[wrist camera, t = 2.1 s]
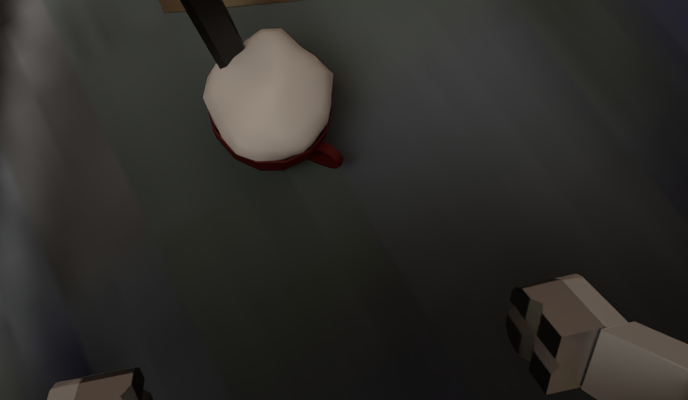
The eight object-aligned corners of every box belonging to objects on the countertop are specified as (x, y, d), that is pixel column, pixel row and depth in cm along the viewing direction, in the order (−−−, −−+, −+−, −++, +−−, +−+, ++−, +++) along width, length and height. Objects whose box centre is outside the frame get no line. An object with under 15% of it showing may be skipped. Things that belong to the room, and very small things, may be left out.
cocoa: (351, 169, 29) (418, 74, 17) (256, 220, 27) (259, 153, 15) (271, 35, 30) (285, -139, 18) (175, 77, 28) (121, -86, 16)
